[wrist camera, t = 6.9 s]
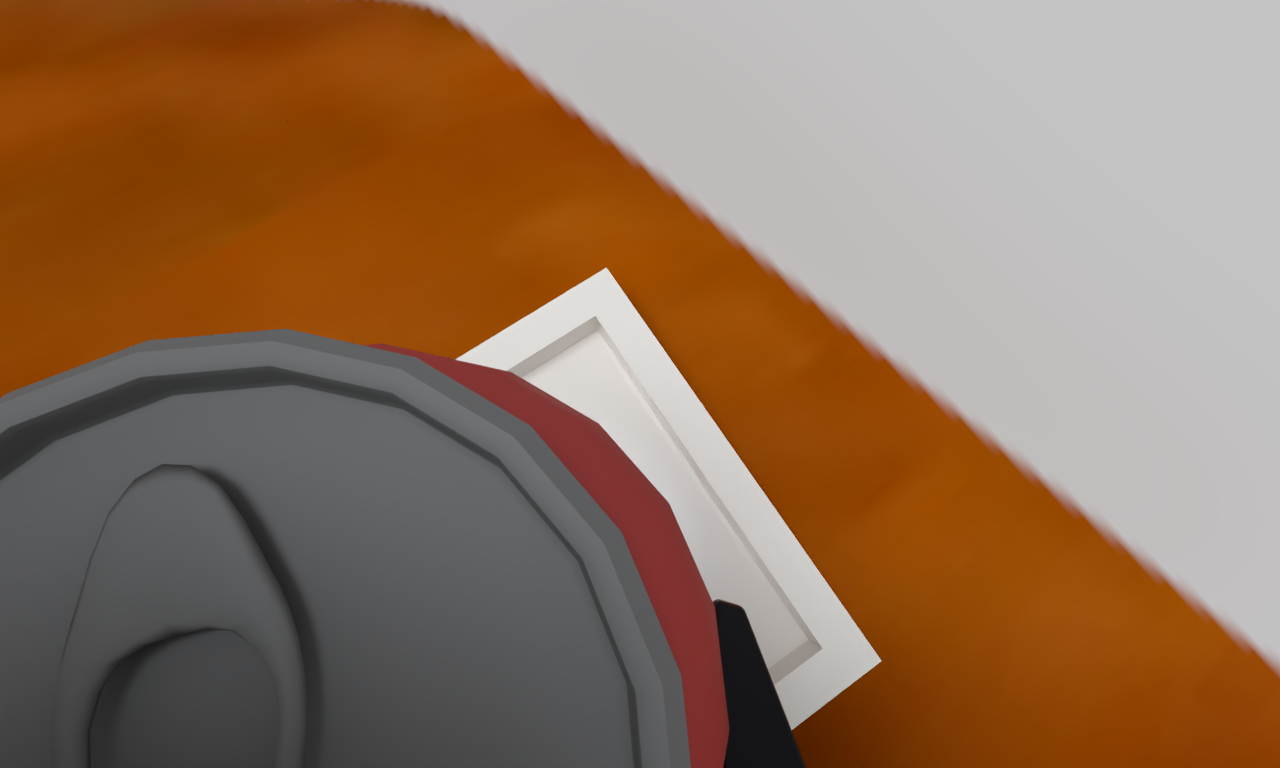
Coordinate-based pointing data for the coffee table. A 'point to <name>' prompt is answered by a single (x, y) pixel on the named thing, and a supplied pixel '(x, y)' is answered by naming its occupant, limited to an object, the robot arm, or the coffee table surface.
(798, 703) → the dock tray
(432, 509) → the beer can
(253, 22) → the coffee table surface
